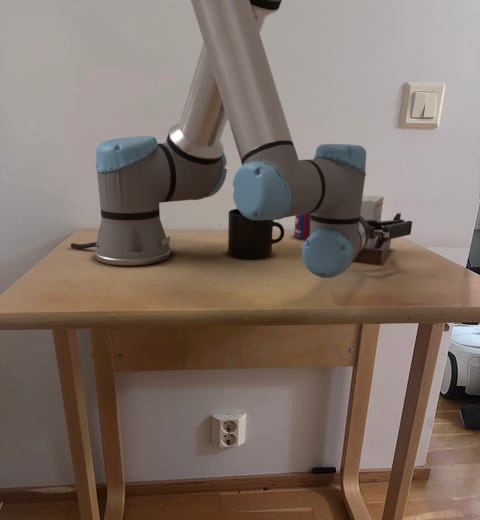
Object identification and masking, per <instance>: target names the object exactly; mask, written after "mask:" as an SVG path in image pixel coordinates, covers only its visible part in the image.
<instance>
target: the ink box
mask: <svg viewBox="0 0 480 520" xmlns="http://www.w3.org/2000/svg"><path fill="white" fill-rule="evenodd" d="M384 197H385V196H383V195H364V194H363V197H362V205H361V212H360V216H362V217H363V218H364V219H365V220H375V221H377V222H379V221H382V214H383V213H382V212H383V204H384ZM368 225H370V224H368ZM377 243H378V236H376V237H375V238H374V239H369V240H368V242H367V243H366V245H365V246H364V247H363V248H372V249H377Z"/></svg>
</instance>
